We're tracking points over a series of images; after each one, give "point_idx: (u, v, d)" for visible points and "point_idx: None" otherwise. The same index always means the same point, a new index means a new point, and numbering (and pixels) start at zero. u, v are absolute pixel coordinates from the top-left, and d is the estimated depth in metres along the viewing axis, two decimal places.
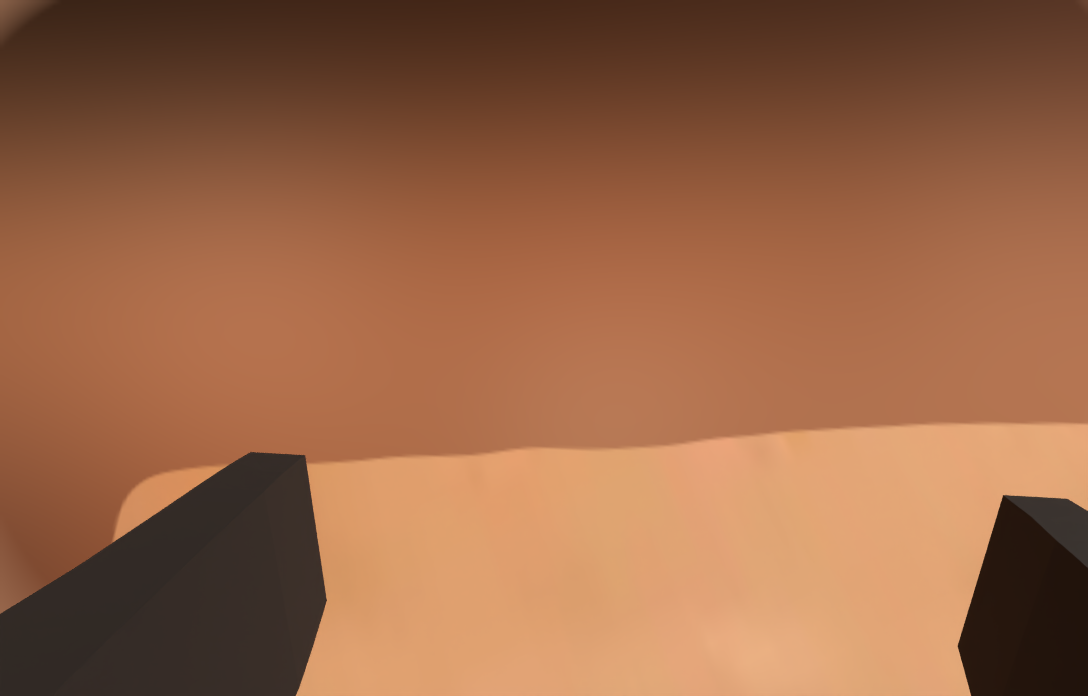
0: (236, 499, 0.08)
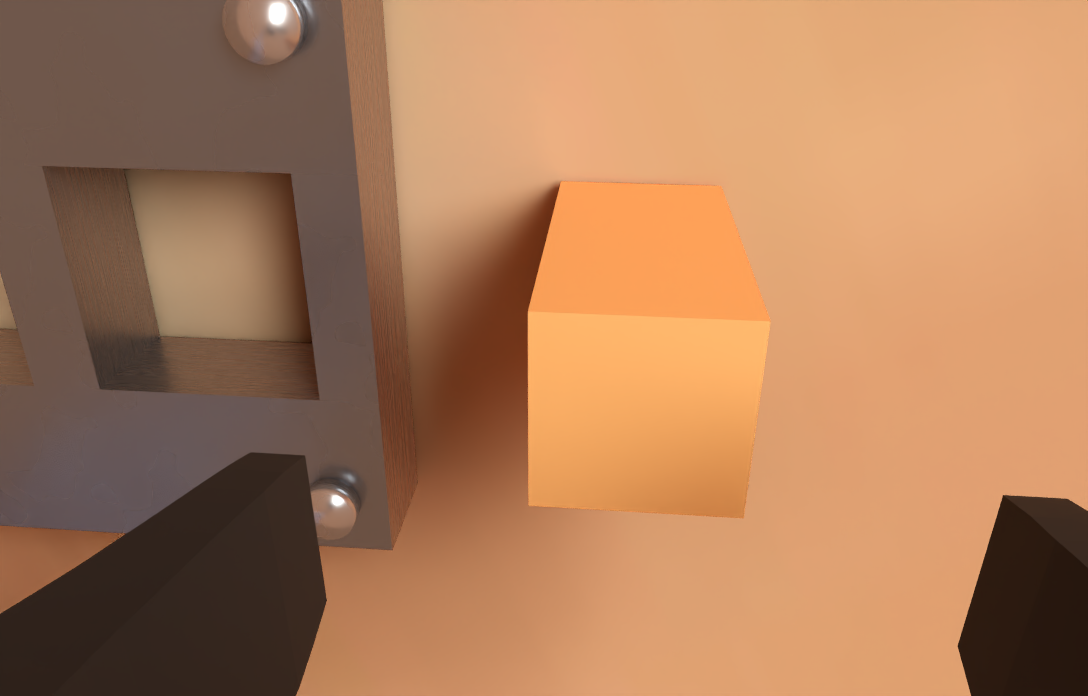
0: (237, 500, 0.08)
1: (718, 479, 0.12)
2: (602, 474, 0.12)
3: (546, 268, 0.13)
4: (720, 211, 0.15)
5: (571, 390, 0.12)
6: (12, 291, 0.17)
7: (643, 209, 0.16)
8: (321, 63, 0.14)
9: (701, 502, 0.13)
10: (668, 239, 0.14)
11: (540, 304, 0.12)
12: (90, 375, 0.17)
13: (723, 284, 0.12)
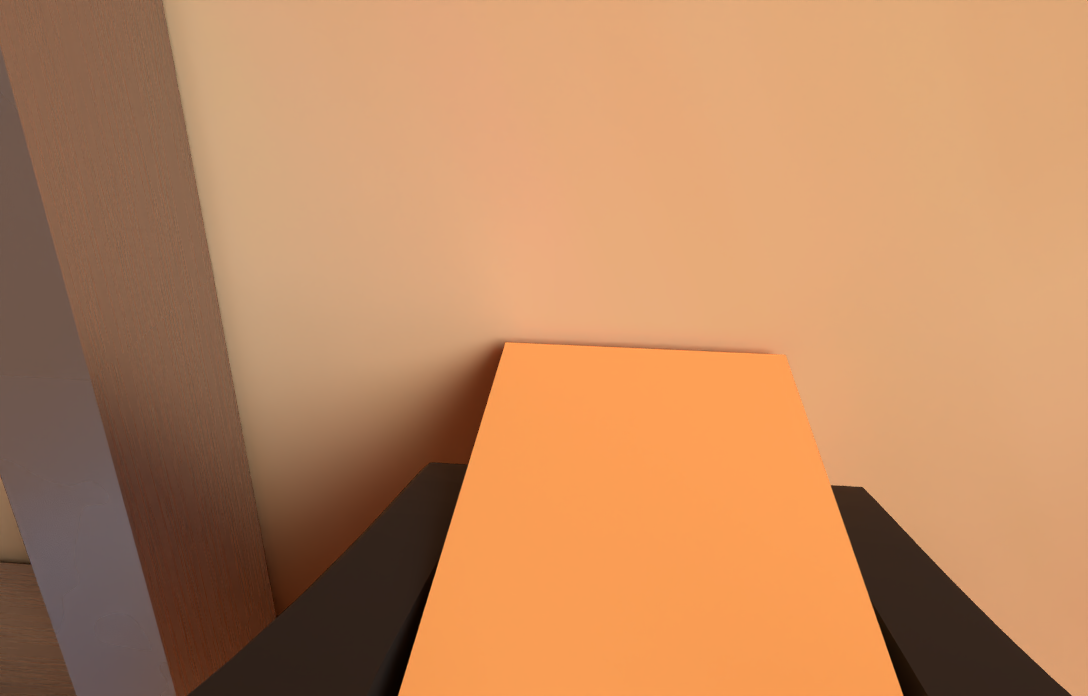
0: (443, 513, 0.08)
1: None
2: None
3: (422, 673, 0.06)
4: (794, 434, 0.08)
5: None
6: None
7: (646, 429, 0.08)
8: None
9: None
10: (700, 540, 0.07)
11: None
12: None
13: None
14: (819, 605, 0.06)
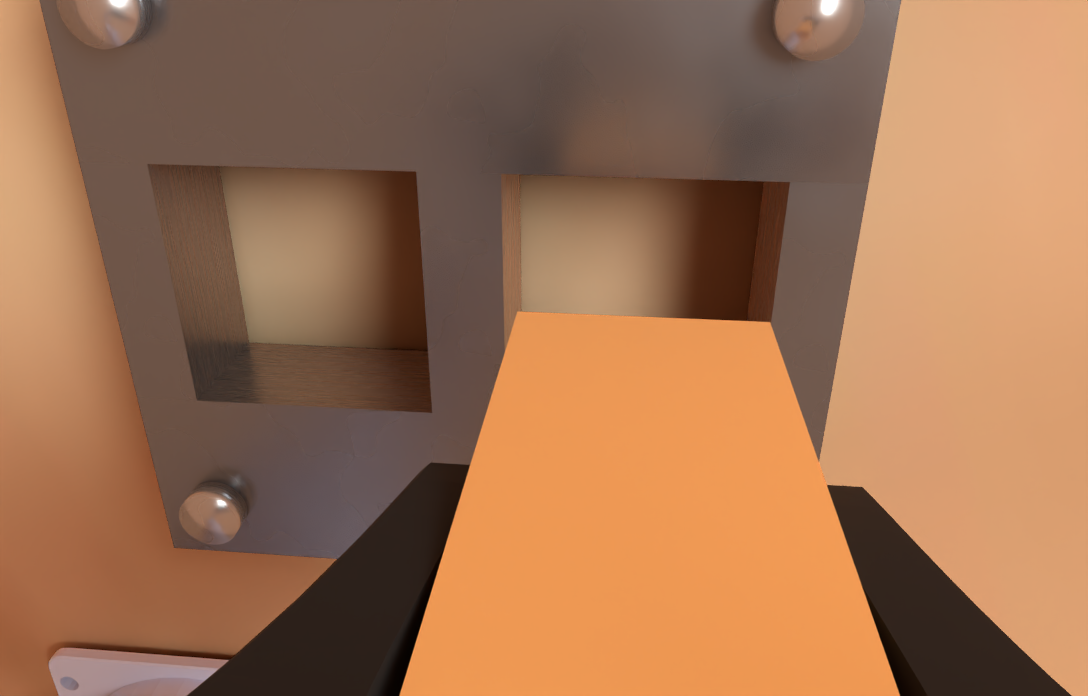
0: (443, 512, 0.08)
1: None
2: None
3: (454, 563, 0.07)
4: (775, 385, 0.09)
5: None
6: (432, 310, 0.15)
7: (646, 382, 0.09)
8: (860, 59, 0.13)
9: None
10: (690, 466, 0.08)
11: None
12: None
13: (805, 626, 0.06)
14: (792, 515, 0.07)
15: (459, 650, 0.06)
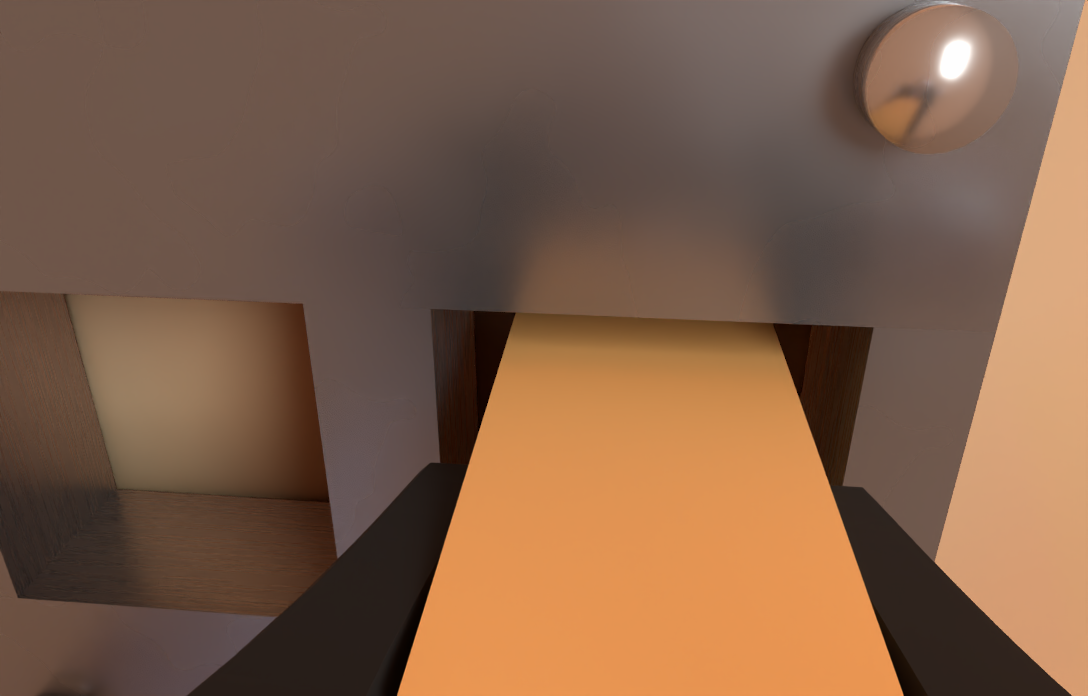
0: (443, 513, 0.08)
1: None
2: None
3: (460, 539, 0.07)
4: (773, 371, 0.09)
5: None
6: (339, 492, 0.10)
7: (645, 367, 0.09)
8: (995, 147, 0.08)
9: None
10: (690, 448, 0.08)
11: (427, 672, 0.06)
12: None
13: (800, 597, 0.06)
14: (788, 494, 0.07)
15: (465, 620, 0.06)
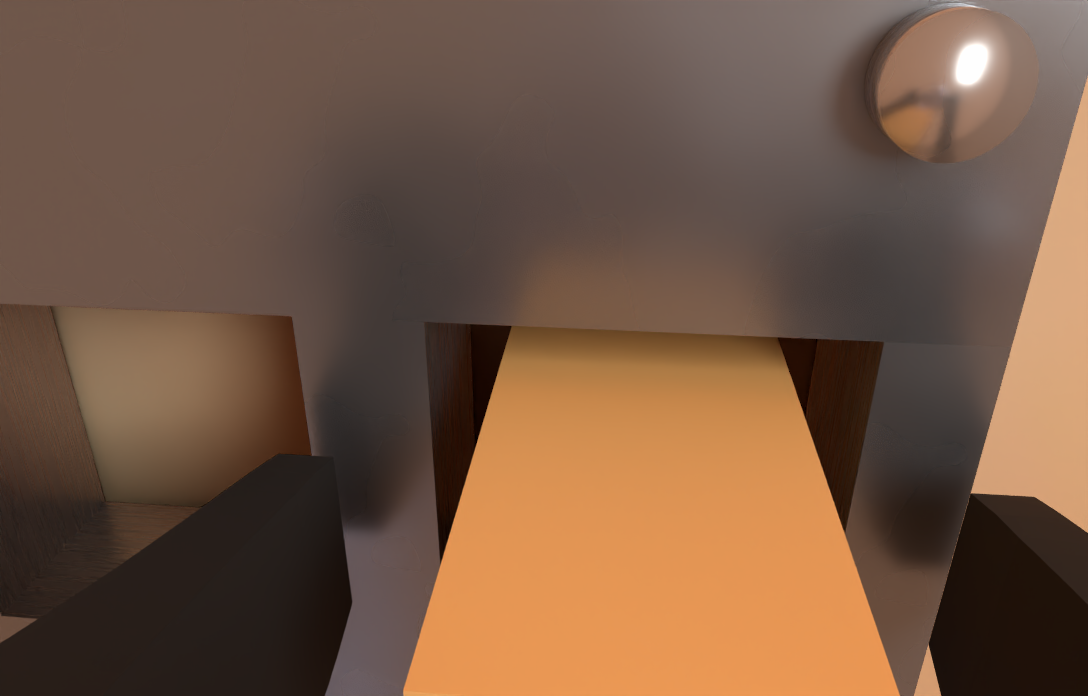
0: (269, 501, 0.08)
1: None
2: None
3: (464, 531, 0.07)
4: (771, 365, 0.10)
5: None
6: None
7: (645, 362, 0.10)
8: (1012, 155, 0.07)
9: None
10: (688, 440, 0.08)
11: (433, 661, 0.06)
12: None
13: (797, 588, 0.06)
14: (785, 486, 0.08)
15: (470, 610, 0.06)
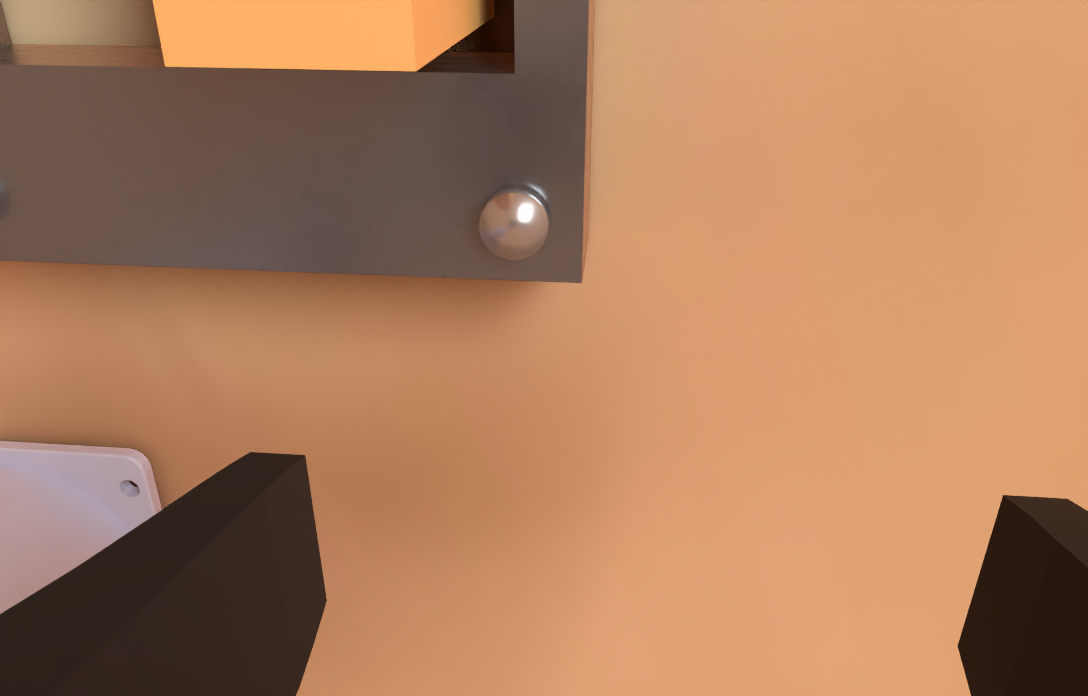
0: (236, 500, 0.08)
1: (376, 12, 0.10)
2: (241, 13, 0.10)
3: None
4: None
5: None
6: None
7: None
8: None
9: (362, 49, 0.10)
10: None
11: None
12: None
13: None
14: None
15: None
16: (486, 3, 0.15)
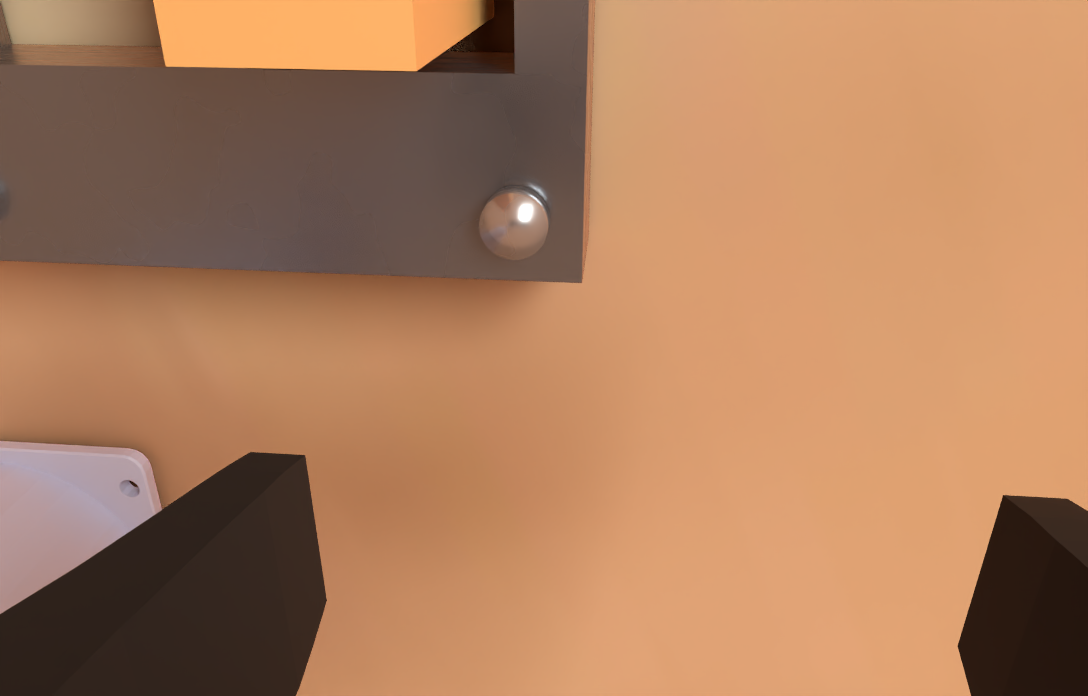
0: (236, 500, 0.08)
1: (377, 12, 0.10)
2: (242, 13, 0.10)
3: None
4: None
5: None
6: None
7: None
8: None
9: (363, 49, 0.10)
10: None
11: None
12: None
13: None
14: None
15: None
16: (486, 3, 0.15)
